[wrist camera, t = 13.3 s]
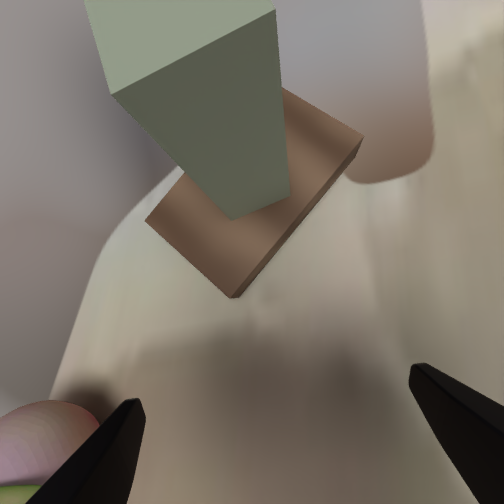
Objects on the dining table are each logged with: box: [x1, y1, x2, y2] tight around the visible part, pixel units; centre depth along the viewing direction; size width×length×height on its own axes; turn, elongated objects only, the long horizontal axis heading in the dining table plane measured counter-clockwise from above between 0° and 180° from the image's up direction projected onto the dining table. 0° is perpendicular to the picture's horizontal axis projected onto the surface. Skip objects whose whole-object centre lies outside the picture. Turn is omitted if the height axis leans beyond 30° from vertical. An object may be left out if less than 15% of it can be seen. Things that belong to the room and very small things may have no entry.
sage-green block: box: [84, 0, 290, 221], centre depth 14 cm, size 5×5×13 cm
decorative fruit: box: [0, 400, 100, 504], centre depth 17 cm, size 9×8×10 cm
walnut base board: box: [145, 88, 364, 298], centre depth 21 cm, size 16×10×3 cm, turn 140°
